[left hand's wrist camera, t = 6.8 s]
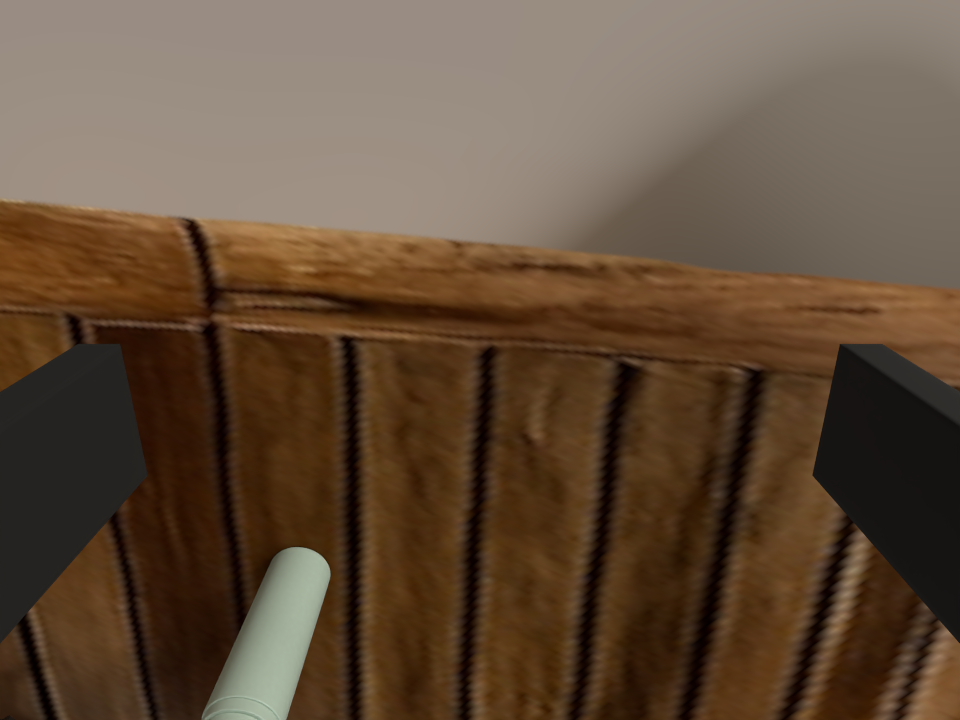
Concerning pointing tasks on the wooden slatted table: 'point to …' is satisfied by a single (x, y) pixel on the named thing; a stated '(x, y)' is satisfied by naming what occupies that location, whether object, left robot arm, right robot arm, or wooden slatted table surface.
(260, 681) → the bottle
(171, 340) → the wooden slatted table surface
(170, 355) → the wooden slatted table surface
